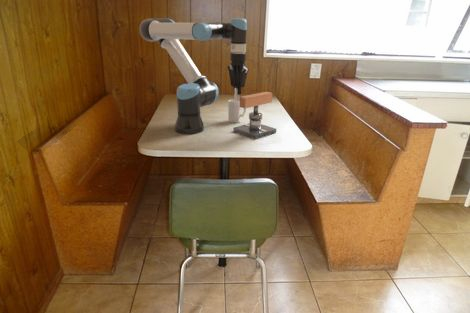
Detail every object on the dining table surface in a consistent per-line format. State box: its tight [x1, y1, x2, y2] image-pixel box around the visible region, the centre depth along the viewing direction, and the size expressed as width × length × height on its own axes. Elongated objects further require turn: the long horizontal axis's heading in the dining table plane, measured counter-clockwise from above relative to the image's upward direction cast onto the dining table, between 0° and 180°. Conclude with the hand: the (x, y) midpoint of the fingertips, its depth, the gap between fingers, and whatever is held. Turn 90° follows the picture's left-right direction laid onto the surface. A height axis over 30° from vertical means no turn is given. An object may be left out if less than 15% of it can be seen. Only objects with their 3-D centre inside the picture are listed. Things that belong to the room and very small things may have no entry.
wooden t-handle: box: [239, 91, 273, 121], centre depth 174 cm, size 7×20×12 cm, turn 134°
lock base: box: [232, 119, 277, 140], centre depth 178 cm, size 16×16×7 cm
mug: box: [227, 98, 247, 124], centre depth 194 cm, size 10×7×12 cm, turn 87°
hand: (237, 100), depth 174 cm, fingers closed
